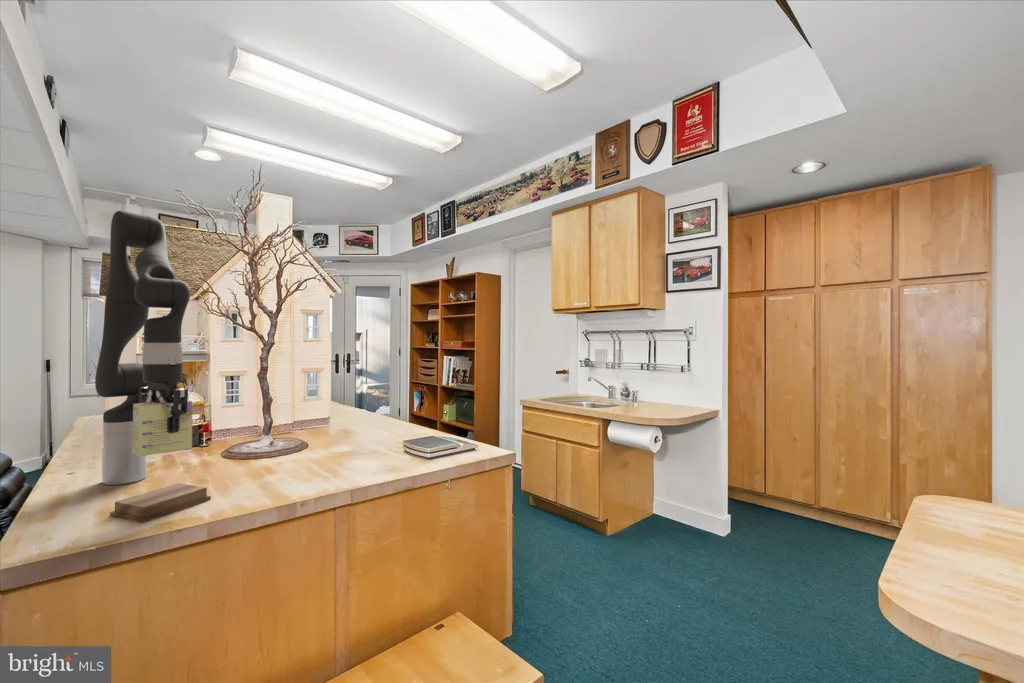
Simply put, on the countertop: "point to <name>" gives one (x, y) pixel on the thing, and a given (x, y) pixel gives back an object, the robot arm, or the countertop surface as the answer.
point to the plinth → (159, 502)
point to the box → (159, 430)
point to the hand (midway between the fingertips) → (162, 431)
